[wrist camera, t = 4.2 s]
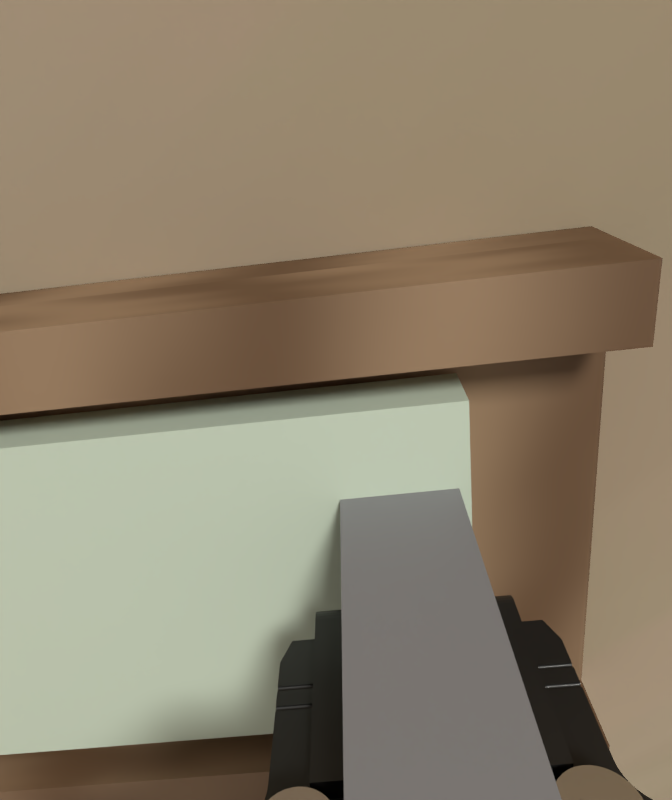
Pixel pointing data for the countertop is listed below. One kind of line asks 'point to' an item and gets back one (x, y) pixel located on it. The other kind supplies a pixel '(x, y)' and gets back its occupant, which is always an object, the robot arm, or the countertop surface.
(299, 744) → the robot arm
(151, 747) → the lane board
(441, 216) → the countertop surface
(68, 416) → the light green piece
